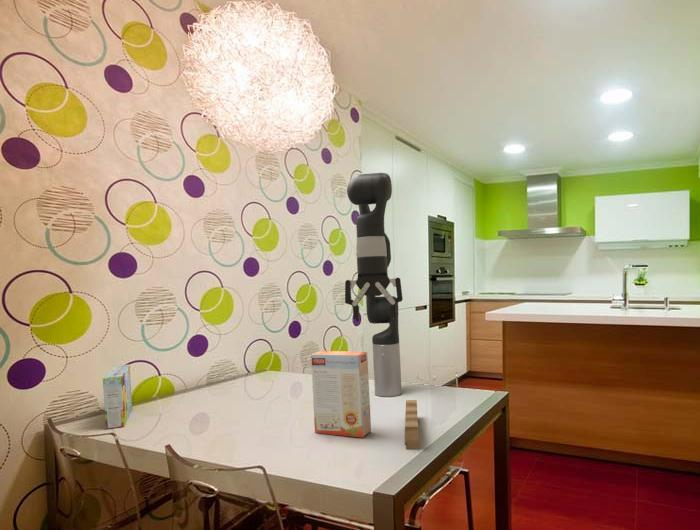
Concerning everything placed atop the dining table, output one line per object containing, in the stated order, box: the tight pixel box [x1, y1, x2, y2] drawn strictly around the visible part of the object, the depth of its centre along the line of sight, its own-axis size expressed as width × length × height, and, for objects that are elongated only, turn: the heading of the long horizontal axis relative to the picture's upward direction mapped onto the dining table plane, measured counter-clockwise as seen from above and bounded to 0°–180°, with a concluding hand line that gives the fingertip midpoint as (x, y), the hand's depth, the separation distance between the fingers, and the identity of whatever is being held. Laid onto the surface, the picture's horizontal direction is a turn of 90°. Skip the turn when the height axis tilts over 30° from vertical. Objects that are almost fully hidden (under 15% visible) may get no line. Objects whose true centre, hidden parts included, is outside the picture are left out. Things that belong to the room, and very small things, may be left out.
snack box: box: [102, 364, 133, 430], centre depth 146 cm, size 21×6×15 cm, turn 19°
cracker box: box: [311, 350, 372, 438], centre depth 124 cm, size 14×6×21 cm, turn 64°
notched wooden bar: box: [404, 399, 420, 450], centre depth 121 cm, size 24×3×5 cm, turn 173°
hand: (374, 320), depth 118 cm, fingers open, 8 cm apart
